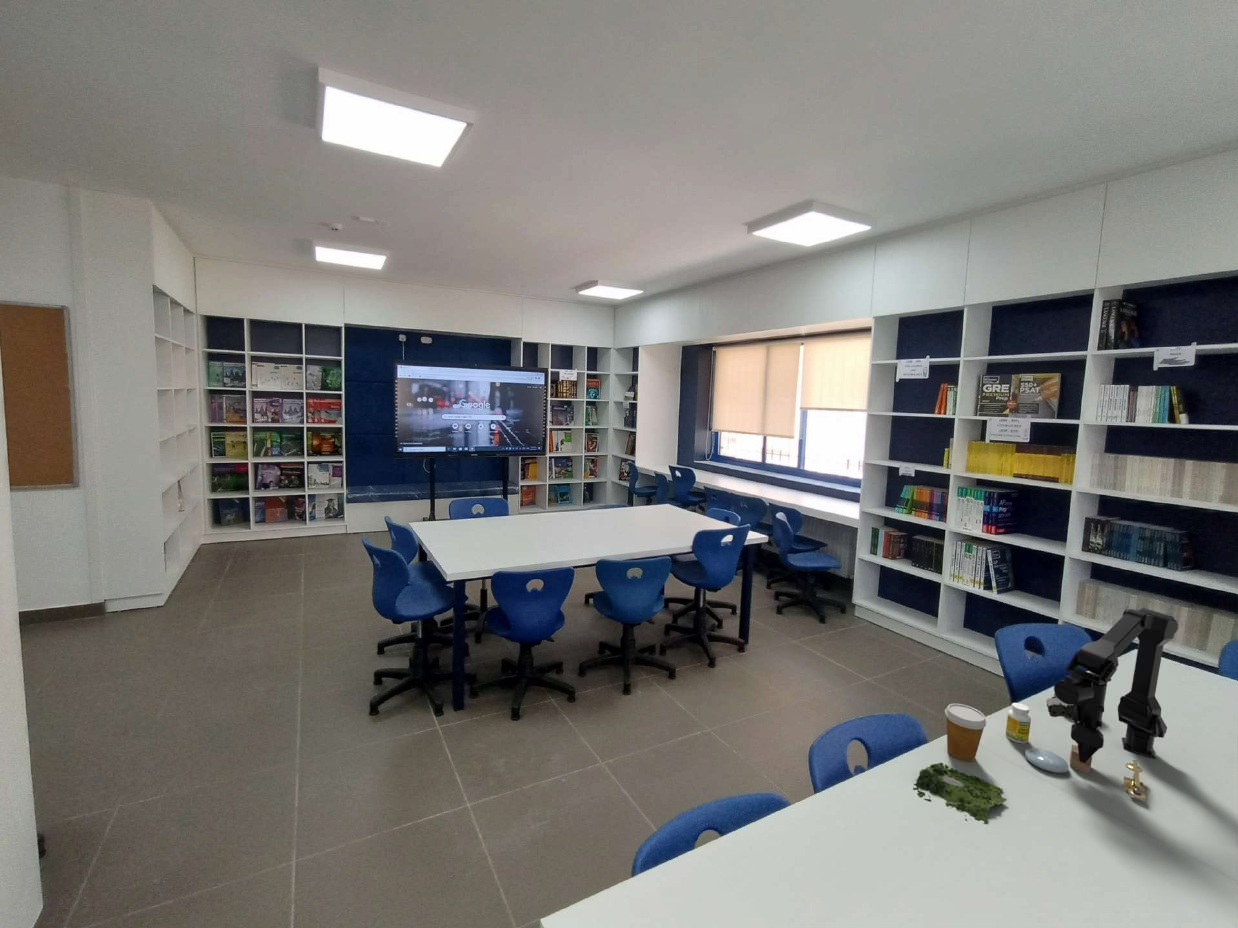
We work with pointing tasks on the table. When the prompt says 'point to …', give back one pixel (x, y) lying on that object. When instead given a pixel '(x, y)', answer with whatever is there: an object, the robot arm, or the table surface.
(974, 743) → the disposable coffee cup
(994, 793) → the landscape model
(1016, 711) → the supplement bottle
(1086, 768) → the walnut block
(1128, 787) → the brass balance
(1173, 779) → the table surface
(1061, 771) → the light blue dish
